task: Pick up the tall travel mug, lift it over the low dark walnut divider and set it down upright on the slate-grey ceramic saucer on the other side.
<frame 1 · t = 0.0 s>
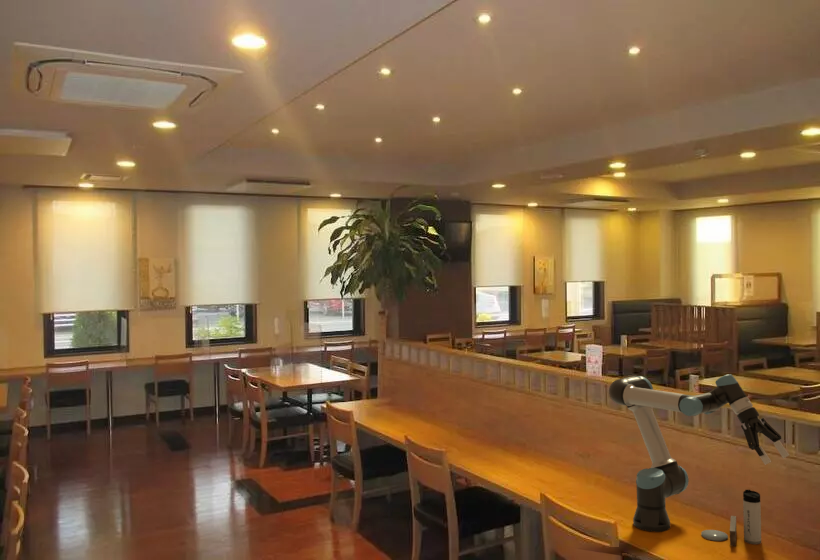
hand: (777, 460, 267), 36 cm above the table, tool tilted 35°, fingers open, 13 cm apart
slate saucer: (714, 536, 285), on the table
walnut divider: (733, 537, 283), on the table
travel mug: (752, 541, 279), on the table
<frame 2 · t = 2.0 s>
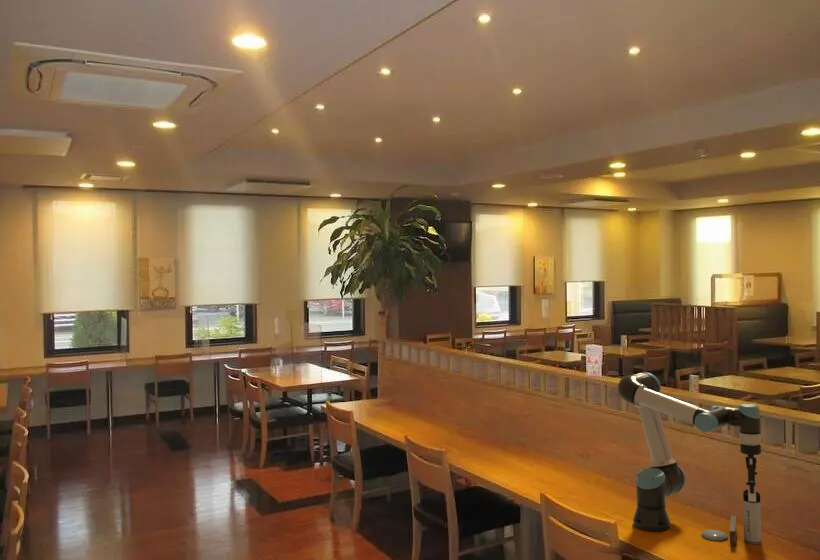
hand: (752, 496, 278), 18 cm above the table, tool pointing down, fingers open, 13 cm apart
nothing on the table moved.
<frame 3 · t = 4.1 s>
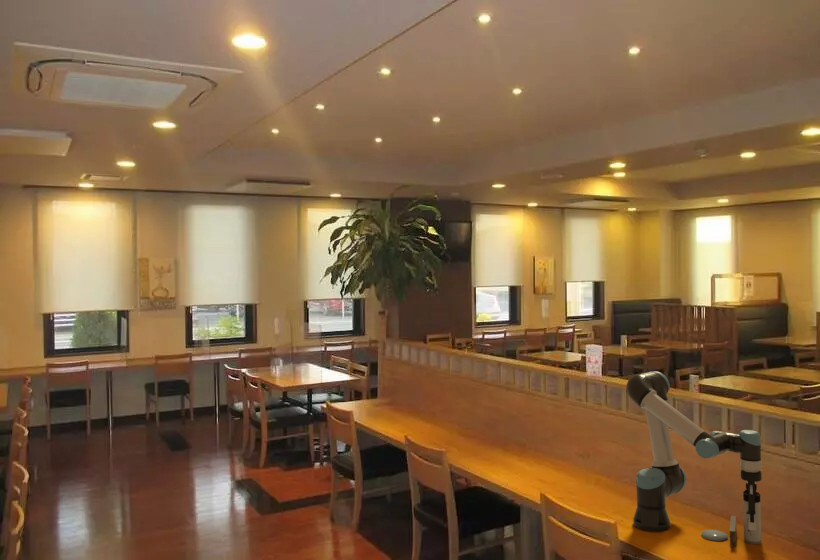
hand: (752, 526, 278), 6 cm above the table, tool pointing down, fingers closed on travel mug, 6 cm apart
travel mug: (752, 541, 279), on the table, touching gripper
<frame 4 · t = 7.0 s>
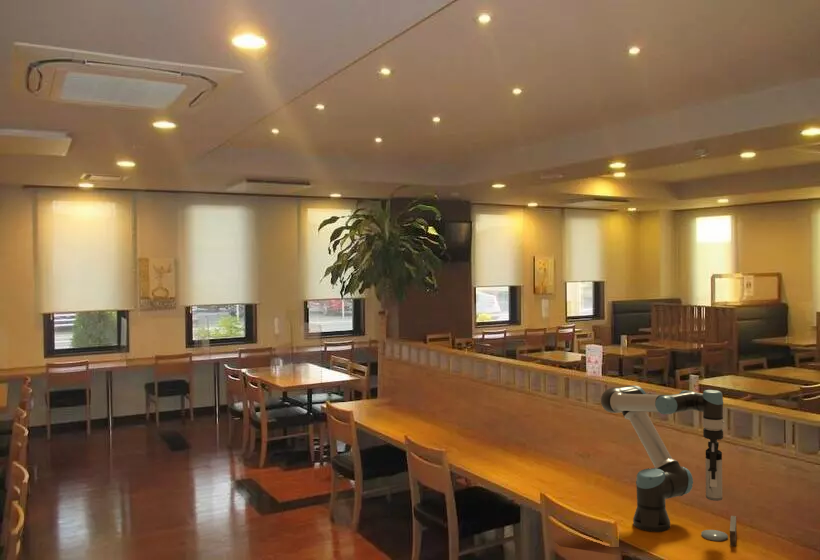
hand: (713, 483, 285), 22 cm above the table, tool pointing down, fingers closed on travel mug, 6 cm apart
travel mug: (713, 498, 285), point 15 cm above the table, touching gripper
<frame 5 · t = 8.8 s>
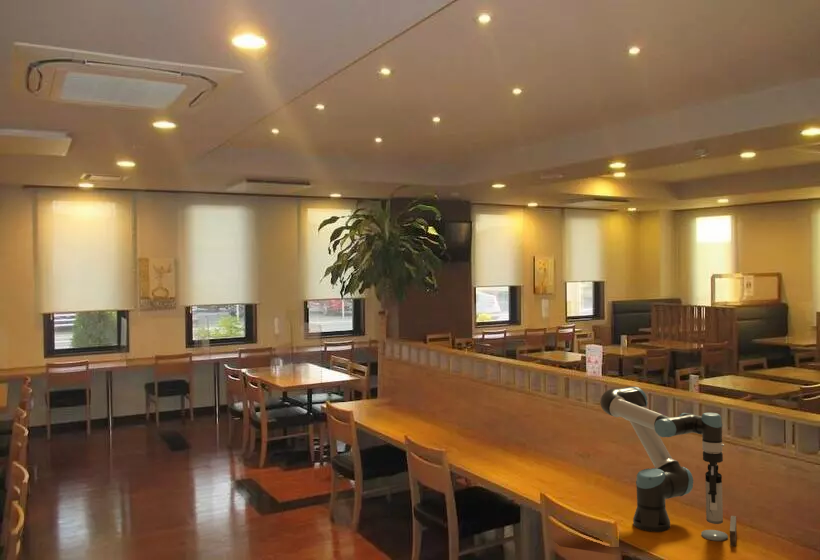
hand: (714, 507, 285), 12 cm above the table, tool pointing down, fingers closed on travel mug, 6 cm apart
travel mug: (714, 521, 285), point 6 cm above the table, touching gripper
when the fingers open (8 cm above the table, at t = 10.0 s): travel mug drops 1 cm, resting on slate saucer.
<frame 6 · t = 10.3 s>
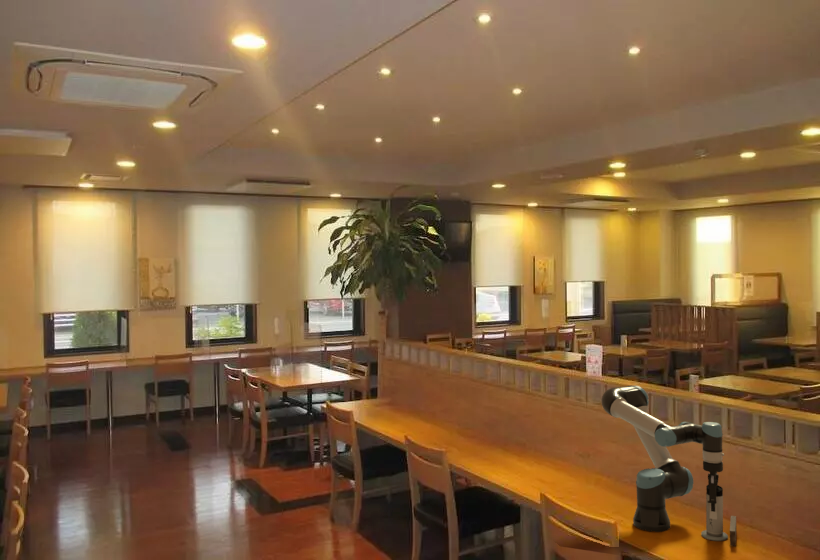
hand: (714, 514, 285), 9 cm above the table, tool pointing down, fingers open, 10 cm apart
travel mug: (714, 534, 285), point 1 cm above the table, touching slate saucer
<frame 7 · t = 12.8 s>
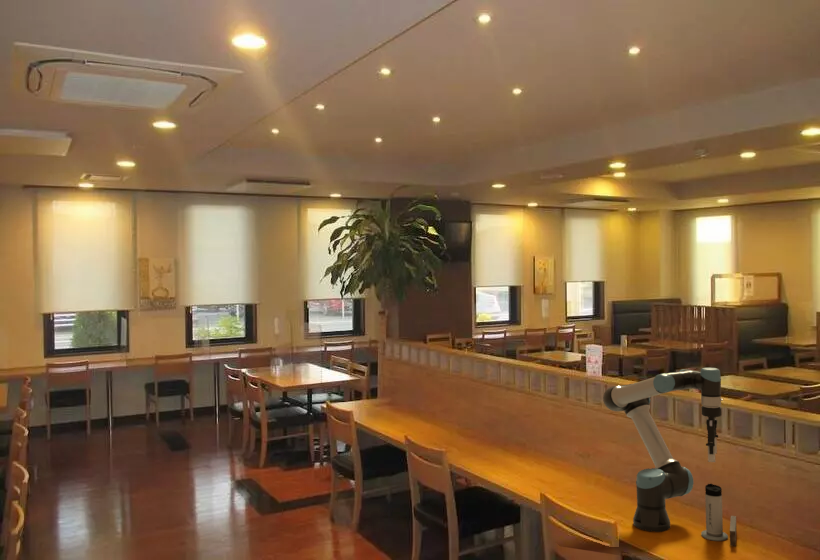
hand: (712, 457, 284), 33 cm above the table, tool pointing down, fingers open, 13 cm apart
nothing on the table moved.
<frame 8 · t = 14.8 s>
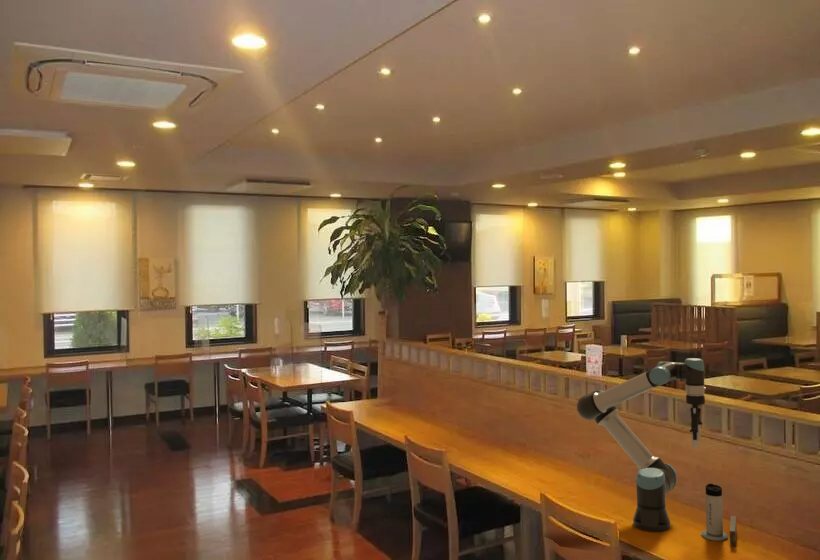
hand: (696, 443, 299), 35 cm above the table, tool pointing down, fingers open, 13 cm apart
nothing on the table moved.
at the end: travel mug 0.2 cm off-centre on the slate saucer, point 0.6 cm above the slate saucer's base; travel mug tilted 0°; the gripper is holding nothing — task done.
